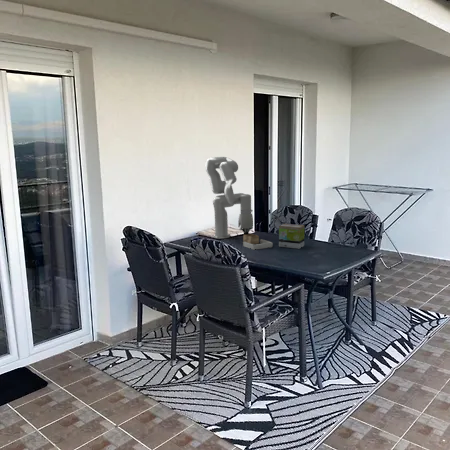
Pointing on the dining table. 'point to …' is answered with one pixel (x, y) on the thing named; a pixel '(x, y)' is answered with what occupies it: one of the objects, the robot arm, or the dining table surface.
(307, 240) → the dining table surface
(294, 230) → the tea box
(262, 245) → the bay
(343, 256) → the dining table surface
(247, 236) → the cart
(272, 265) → the dining table surface
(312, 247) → the dining table surface
